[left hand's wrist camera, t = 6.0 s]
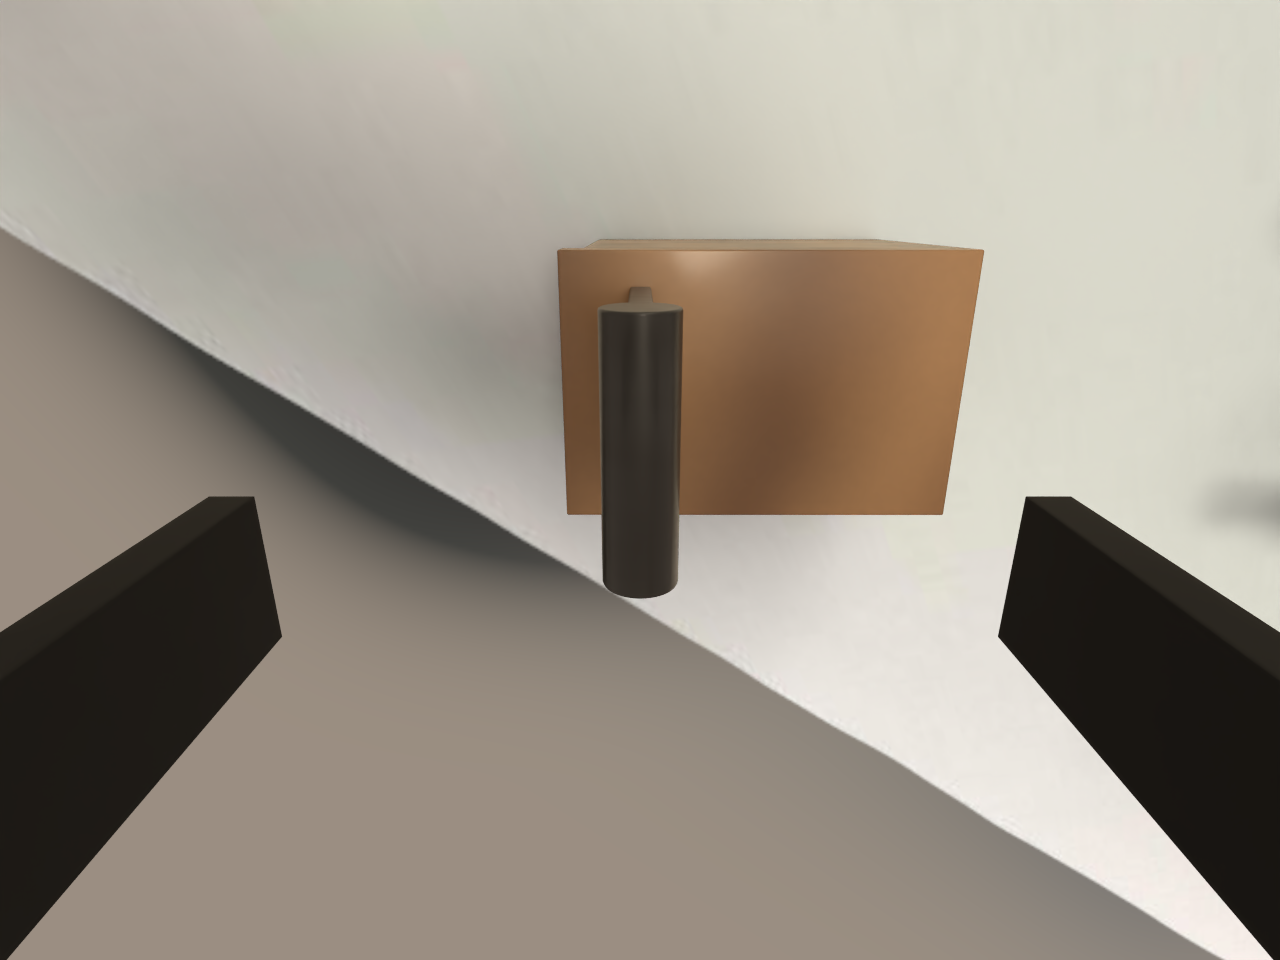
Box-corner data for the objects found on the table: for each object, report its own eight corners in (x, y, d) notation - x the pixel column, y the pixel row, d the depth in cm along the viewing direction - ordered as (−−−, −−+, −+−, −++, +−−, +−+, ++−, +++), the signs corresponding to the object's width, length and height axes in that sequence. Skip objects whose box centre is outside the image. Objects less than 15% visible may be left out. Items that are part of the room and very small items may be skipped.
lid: (570, 502, 28) (537, 632, 19) (561, 248, 24) (516, 265, 16) (930, 502, 28) (1062, 633, 19) (968, 248, 24) (1148, 265, 16)
